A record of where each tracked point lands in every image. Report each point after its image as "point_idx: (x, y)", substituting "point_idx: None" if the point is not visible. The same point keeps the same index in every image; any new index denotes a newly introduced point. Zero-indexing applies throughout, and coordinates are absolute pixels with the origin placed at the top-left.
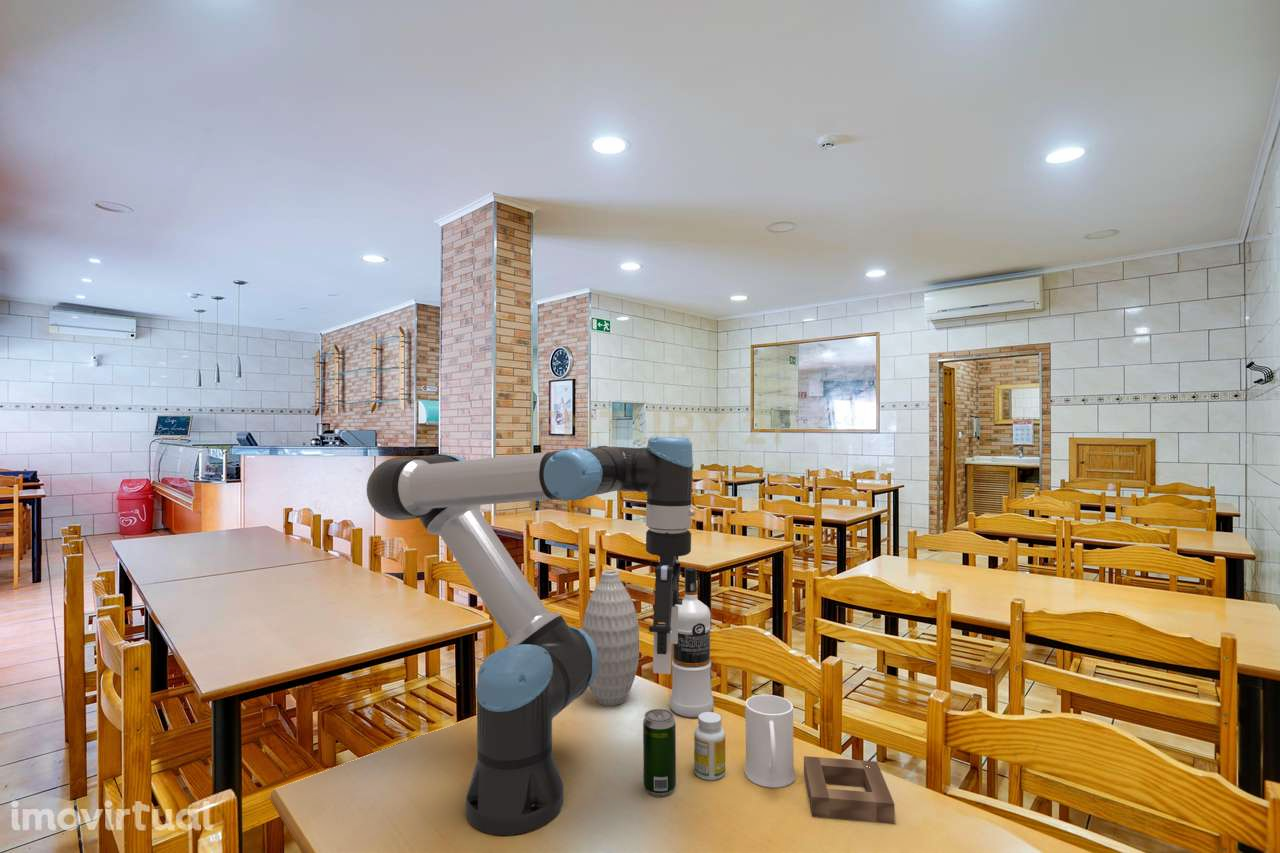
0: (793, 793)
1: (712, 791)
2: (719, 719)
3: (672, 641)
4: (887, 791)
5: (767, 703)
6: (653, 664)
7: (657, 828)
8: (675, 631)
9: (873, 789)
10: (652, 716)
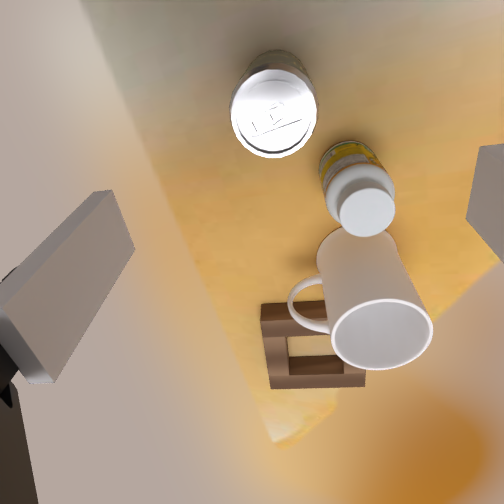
0: None
1: (288, 180)
2: (356, 234)
3: (474, 201)
4: (295, 387)
5: (421, 322)
6: (78, 208)
7: (163, 111)
8: (495, 242)
9: (295, 376)
10: (262, 98)
